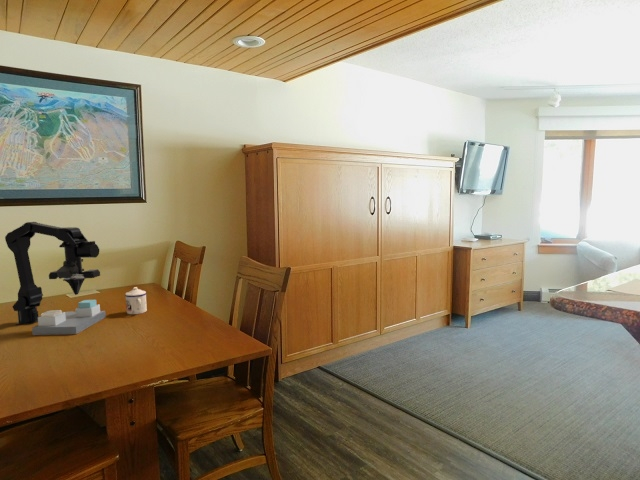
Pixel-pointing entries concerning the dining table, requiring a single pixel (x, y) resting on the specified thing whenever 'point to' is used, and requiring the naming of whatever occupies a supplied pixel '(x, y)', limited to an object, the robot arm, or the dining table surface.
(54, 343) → the dining table surface
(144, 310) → the teacup with lid
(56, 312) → the cream key
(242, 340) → the dining table surface
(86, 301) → the teal key
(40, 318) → the grey rectangular board
